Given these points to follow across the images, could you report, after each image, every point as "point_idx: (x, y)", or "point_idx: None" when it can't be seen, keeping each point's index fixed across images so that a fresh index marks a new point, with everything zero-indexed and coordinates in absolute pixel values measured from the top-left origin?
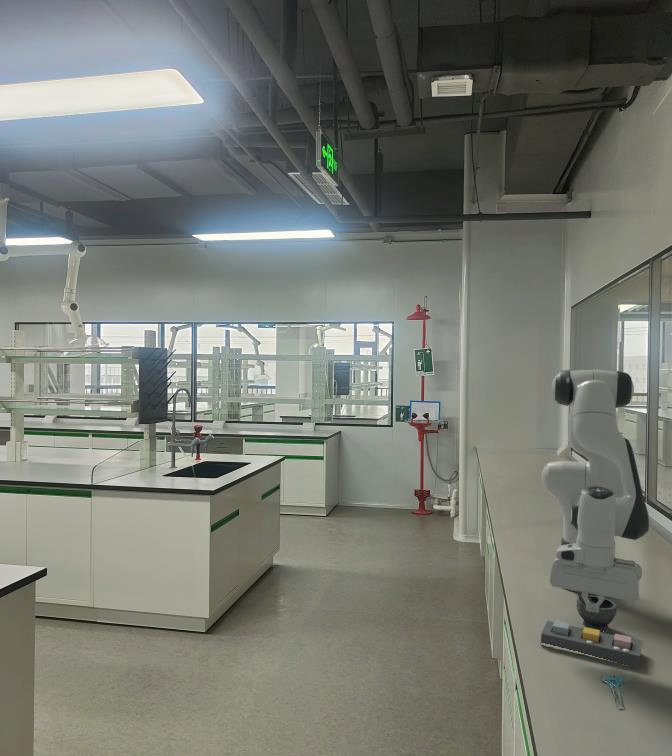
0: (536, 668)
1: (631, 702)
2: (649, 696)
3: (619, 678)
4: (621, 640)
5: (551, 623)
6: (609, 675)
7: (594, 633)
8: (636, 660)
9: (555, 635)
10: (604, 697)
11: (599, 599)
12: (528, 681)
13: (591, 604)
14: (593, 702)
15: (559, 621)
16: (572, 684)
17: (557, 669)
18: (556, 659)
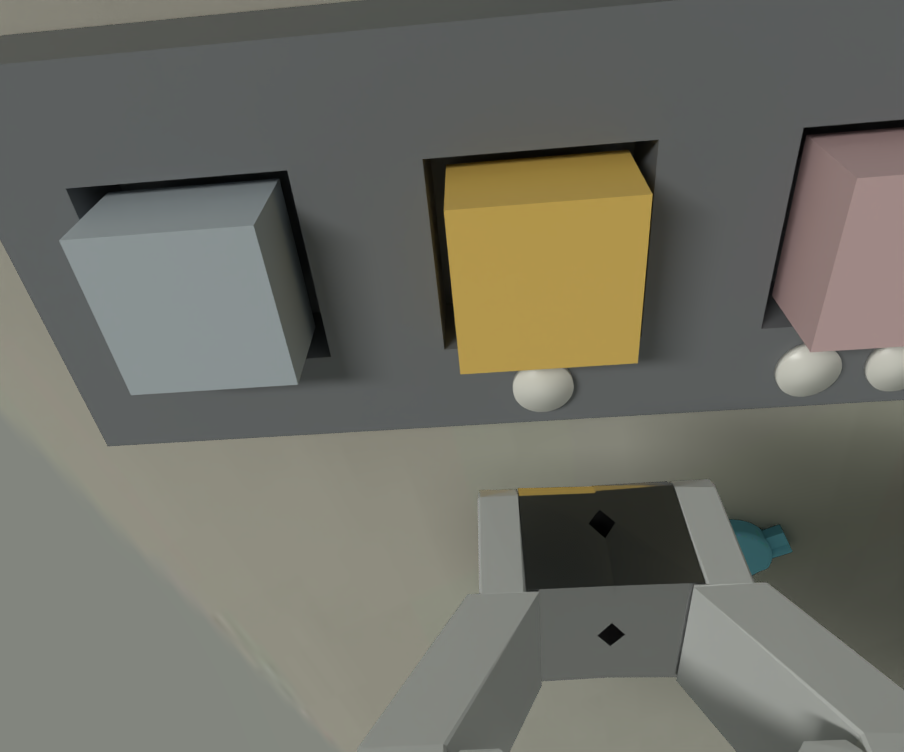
0: (291, 626)
1: None
2: (901, 595)
3: (756, 557)
4: (899, 340)
5: (12, 139)
6: None
7: (590, 332)
8: None
9: (224, 415)
10: (659, 683)
11: (789, 682)
12: (317, 716)
13: (590, 665)
14: (612, 724)
15: (118, 237)
16: None
17: (391, 588)
18: (341, 497)
